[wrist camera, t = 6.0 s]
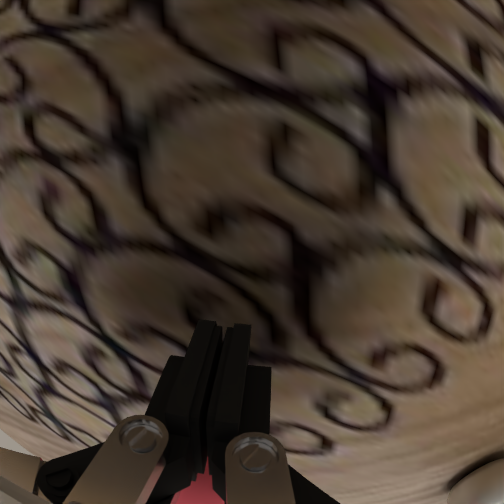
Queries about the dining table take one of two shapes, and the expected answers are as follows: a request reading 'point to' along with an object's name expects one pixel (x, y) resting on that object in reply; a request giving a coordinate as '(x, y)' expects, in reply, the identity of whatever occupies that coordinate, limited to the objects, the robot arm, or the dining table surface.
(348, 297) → the dining table surface
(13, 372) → the dining table surface
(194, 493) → the ball
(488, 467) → the plastic bottle
